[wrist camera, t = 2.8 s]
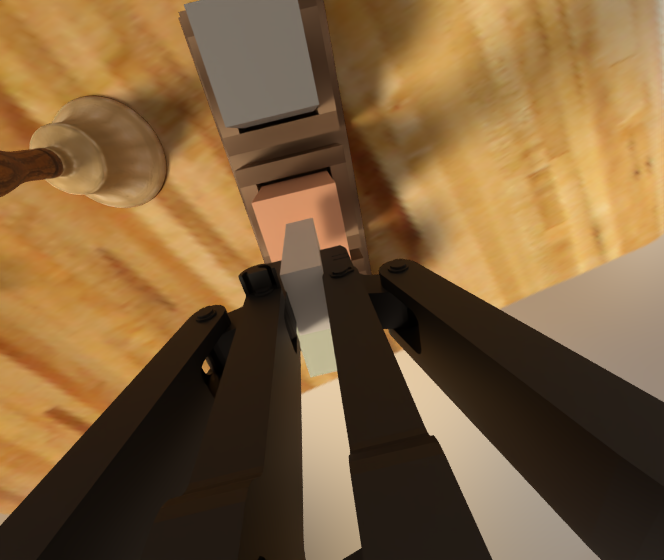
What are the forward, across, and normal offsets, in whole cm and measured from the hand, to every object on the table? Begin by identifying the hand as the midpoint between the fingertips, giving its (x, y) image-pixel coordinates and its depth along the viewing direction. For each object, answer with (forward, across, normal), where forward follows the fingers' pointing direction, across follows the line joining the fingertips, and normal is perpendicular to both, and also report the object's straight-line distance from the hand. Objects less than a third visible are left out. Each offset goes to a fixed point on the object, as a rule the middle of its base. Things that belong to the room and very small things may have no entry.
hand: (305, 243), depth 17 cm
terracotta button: (+8, 0, 0) cm, 8 cm away
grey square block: (+8, 0, +9) cm, 12 cm away
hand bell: (+12, -14, +7) cm, 20 cm away
